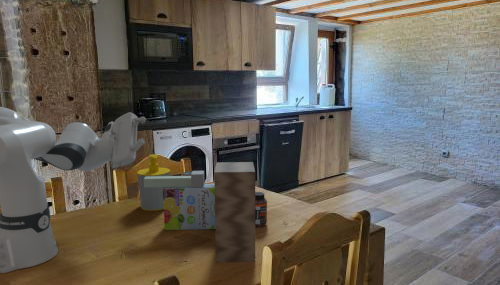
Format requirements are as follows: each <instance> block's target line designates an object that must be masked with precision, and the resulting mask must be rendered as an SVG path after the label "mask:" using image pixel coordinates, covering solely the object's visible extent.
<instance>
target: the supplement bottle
mask: <svg viewBox="0 0 500 285" xmlns="http://www.w3.org/2000/svg"><path fill="white" fill-rule="evenodd" d="M267 218H268V201H267V199H266V198H265V193H264V192H262V191H255V227H256V228H257V227H264V226H266V225H267V223H268V222H267V221H268V219H267Z"/></svg>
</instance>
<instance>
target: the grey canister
mask: <svg viewBox="0 0 500 285" xmlns="http://www.w3.org/2000/svg"><path fill="white" fill-rule="evenodd" d="M158 157H159V155H158V154H149V155H148V158H150V159H149V160H150V163H148V168H147V167H146V168H143V169H139V170H138V171H137V172H136V173H137V182H138V190H139V191H138V192H139V200H140V208H141V210H144V211H152V212H155V211H161V210H164V203H163V188H164V187H144V178H145V177H147V176H171V169H170V168H167V167H160V166H159V165H160V164H159V163H158V162H157V159H158Z"/></svg>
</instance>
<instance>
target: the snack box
mask: <svg viewBox="0 0 500 285" xmlns="http://www.w3.org/2000/svg"><path fill="white" fill-rule="evenodd" d="M163 203H164V209H163V220H164V223H163V224H164V231H179V230H180V231H181V230H182V231H183V230H185V231H186V230H187V231H188V230H189V231H190V230H191V231H192V230H193V231H194V230H215V183H204V187H164V188H163Z"/></svg>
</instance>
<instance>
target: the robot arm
mask: <svg viewBox="0 0 500 285" xmlns="http://www.w3.org/2000/svg"><path fill="white" fill-rule="evenodd" d="M146 121H147V119H146V117H145V116H140V117H138V116H137V115H136V114H135V113H133V112H127V113H125V114H122V115H121V116H119V117H118V118H116V119H115V121H110V122H108V124H107V126H106V127H105V130H104V133H103V134H102V135H101V137H100V136H99V135H98V133H97V132H96V131H95V130H94V129H93V128H92V127H91V126H90V125H88V123H85V122H82V121H72V122H69V123H67V125H66V126H65V127H64V129H63V131H62V132H61V134H60V136H59V138H58V139H57V135H56V132H55V130H54V129H53V127H52V126H51V125H49V124H48V123H46V122H43V121H36V120H30V119H29V120H28V119H22V117H21V115H20V114H19V113H18V112H17V111H15V110H13V109H10V108H8V107H3V106H0V210H1V213H0V274H5V273H10V272H13V271H17V270H21V269H25V268H31V267H34V266H38V265H41V264H43V263H45V262H47V261H49V260H51V259H53V258H54V257H56V256H57V254H58V253H59V249H58V248H59V247H58V246H57V241H56V239H55V237H54V234H53V229H52V224H51V221H50V220H51V210H50V206H49V205H48V200H47V191H46V190H47V189H46V182H45V180H44V179H43V178H42V177H41V176H38V175H37V173H36V172H35V170H34V167H33V165H32V160H36V161H39V162H42V163H46V164H48V165H51V166H53V167H55V168H57V169H60V170H62V171H74V170H79V171H82V172H89V171H93V170H95V169H98V168H100V167H102V166H104V165H105V164H106V165H107V163H108V162H110V167H111V168H112V169H117V168H120V167H124V166H127V165H130V164H133V163H134V162H135V161H136V157H137V151H139V150H140V148H141V147H142V146H143V145H145V144H146V139H145V138H144V137H141V138H138V125H140V124H142V125H143V124H146Z"/></svg>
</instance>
